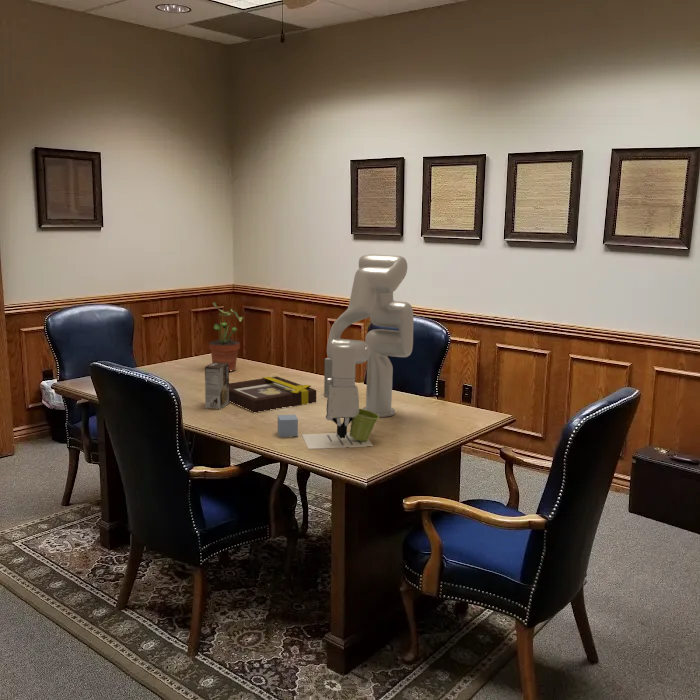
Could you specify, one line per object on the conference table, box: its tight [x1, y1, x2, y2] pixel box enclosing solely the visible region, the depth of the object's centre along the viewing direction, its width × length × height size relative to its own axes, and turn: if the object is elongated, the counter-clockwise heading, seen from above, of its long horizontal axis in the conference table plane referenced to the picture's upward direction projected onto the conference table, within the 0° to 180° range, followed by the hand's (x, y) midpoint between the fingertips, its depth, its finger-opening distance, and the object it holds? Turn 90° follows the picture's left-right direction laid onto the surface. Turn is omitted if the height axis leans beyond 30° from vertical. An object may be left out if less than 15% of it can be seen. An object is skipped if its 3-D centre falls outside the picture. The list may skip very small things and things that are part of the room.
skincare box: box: [323, 357, 332, 398], centre depth 292 cm, size 8×7×16 cm
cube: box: [277, 414, 299, 438], centre depth 240 cm, size 6×6×6 cm
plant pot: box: [349, 408, 380, 441], centre depth 235 cm, size 9×9×9 cm
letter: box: [301, 432, 374, 450], centre depth 235 cm, size 15×21×1 cm
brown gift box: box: [229, 375, 317, 413], centre depth 284 cm, size 28×7×30 cm
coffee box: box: [204, 362, 230, 410], centre depth 272 cm, size 9×6×16 cm
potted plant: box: [208, 301, 244, 371], centre depth 332 cm, size 16×15×35 cm
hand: (341, 436), depth 234 cm, fingers closed
